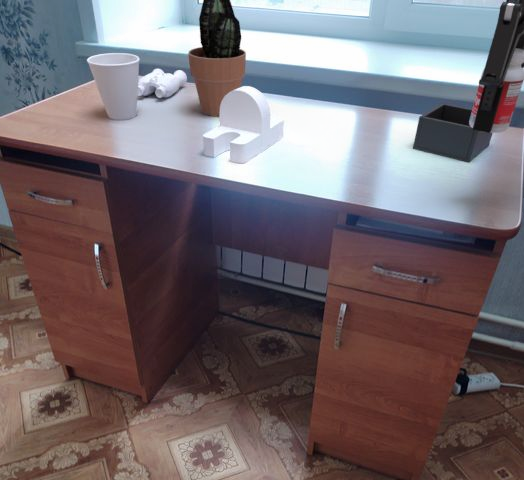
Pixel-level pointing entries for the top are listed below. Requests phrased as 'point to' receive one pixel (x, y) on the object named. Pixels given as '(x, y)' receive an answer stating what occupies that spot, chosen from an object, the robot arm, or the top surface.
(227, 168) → the top surface
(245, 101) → the bracket
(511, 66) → the pill bottle
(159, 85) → the binoculars
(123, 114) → the cup
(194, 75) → the potted plant
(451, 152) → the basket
